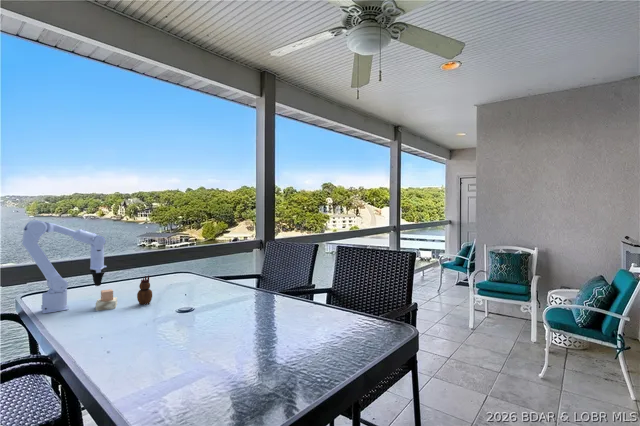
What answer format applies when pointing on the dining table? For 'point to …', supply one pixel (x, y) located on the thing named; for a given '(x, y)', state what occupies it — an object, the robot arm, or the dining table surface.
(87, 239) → the robot arm
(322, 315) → the dining table surface
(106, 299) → the terracotta cube
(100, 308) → the birch block
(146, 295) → the wooden figurine
